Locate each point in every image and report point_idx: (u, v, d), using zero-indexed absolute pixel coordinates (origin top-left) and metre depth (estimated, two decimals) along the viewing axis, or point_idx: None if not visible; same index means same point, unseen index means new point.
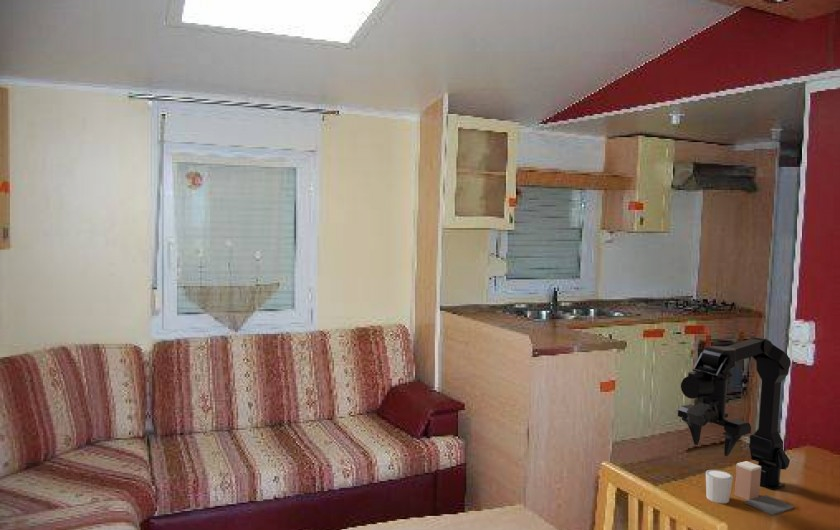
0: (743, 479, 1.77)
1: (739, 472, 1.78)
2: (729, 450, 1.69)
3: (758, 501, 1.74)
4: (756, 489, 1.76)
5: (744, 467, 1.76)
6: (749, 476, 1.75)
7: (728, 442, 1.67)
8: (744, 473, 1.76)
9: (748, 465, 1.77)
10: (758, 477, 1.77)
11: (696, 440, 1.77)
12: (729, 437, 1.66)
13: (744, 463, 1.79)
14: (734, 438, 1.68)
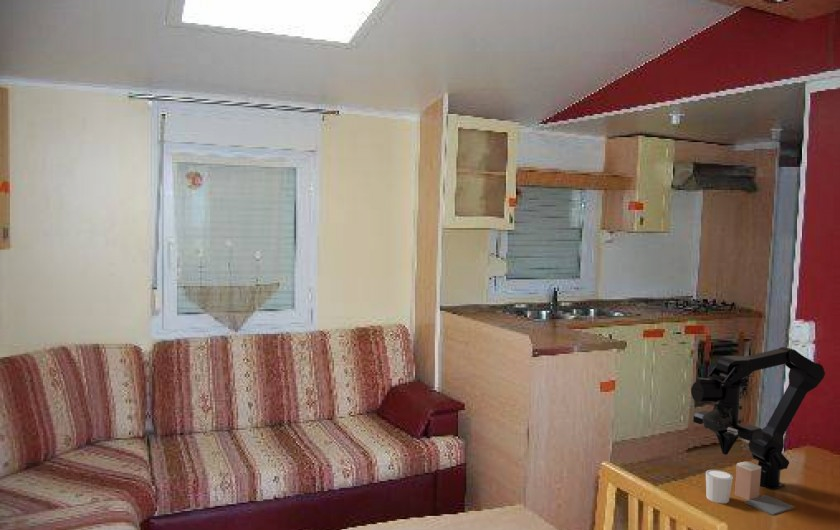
0: (743, 479, 1.77)
1: (739, 472, 1.78)
2: (728, 449, 1.83)
3: (758, 501, 1.74)
4: (756, 489, 1.76)
5: (744, 467, 1.76)
6: (749, 476, 1.75)
7: (727, 441, 1.82)
8: (744, 473, 1.76)
9: (748, 465, 1.77)
10: (758, 477, 1.77)
11: None
12: (728, 437, 1.81)
13: (744, 463, 1.79)
14: (733, 438, 1.83)
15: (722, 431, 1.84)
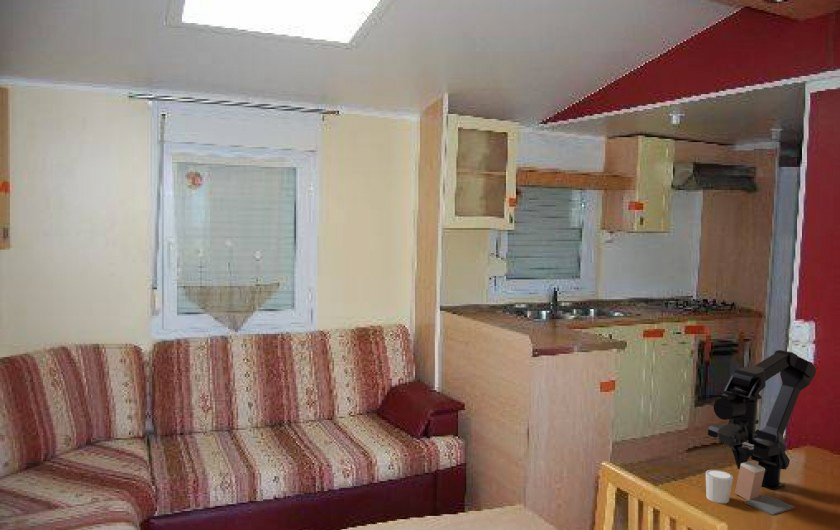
0: (745, 479, 1.76)
1: (742, 472, 1.77)
2: None
3: (758, 501, 1.74)
4: (757, 490, 1.76)
5: (748, 468, 1.75)
6: (752, 477, 1.74)
7: (742, 456, 1.78)
8: (747, 474, 1.76)
9: (752, 466, 1.76)
10: (761, 478, 1.76)
11: (739, 464, 1.80)
12: (743, 451, 1.77)
13: (748, 463, 1.78)
14: (748, 453, 1.79)
15: (738, 445, 1.80)
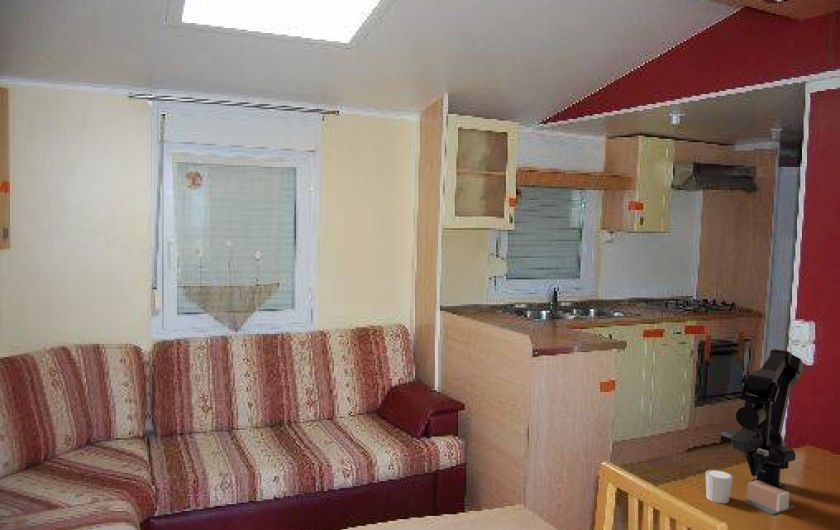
0: (765, 498, 1.71)
1: (771, 495, 1.70)
2: (757, 470, 1.75)
3: None
4: None
5: (777, 503, 1.68)
6: (770, 506, 1.70)
7: (757, 463, 1.74)
8: (771, 501, 1.70)
9: (782, 503, 1.69)
10: None
11: None
12: (757, 458, 1.73)
13: (784, 497, 1.69)
14: (762, 459, 1.75)
15: (751, 452, 1.76)
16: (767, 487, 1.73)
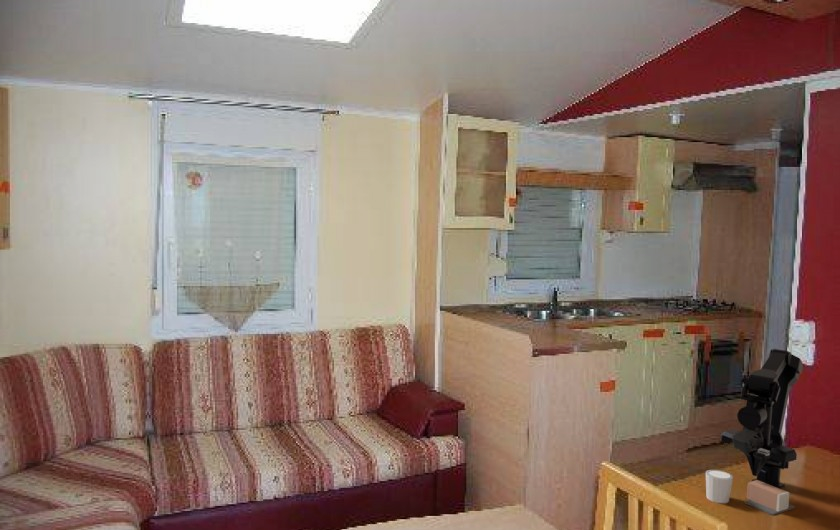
0: (765, 498, 1.71)
1: (771, 495, 1.70)
2: (758, 470, 1.75)
3: None
4: None
5: (777, 503, 1.68)
6: (770, 506, 1.70)
7: (758, 463, 1.74)
8: (771, 501, 1.70)
9: (782, 503, 1.69)
10: None
11: None
12: (758, 458, 1.73)
13: (784, 497, 1.69)
14: (763, 459, 1.75)
15: (752, 451, 1.76)
16: (767, 487, 1.73)
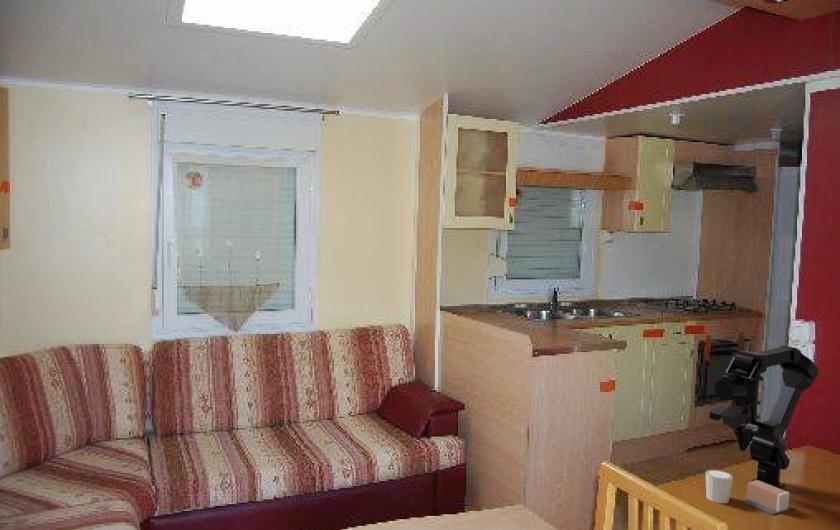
0: (765, 498, 1.71)
1: (771, 495, 1.70)
2: (746, 445, 1.80)
3: None
4: None
5: (777, 503, 1.68)
6: (770, 506, 1.70)
7: (746, 438, 1.78)
8: (771, 501, 1.70)
9: (782, 503, 1.69)
10: None
11: None
12: (746, 433, 1.77)
13: (784, 497, 1.69)
14: (751, 434, 1.79)
15: (740, 427, 1.80)
16: (767, 487, 1.73)
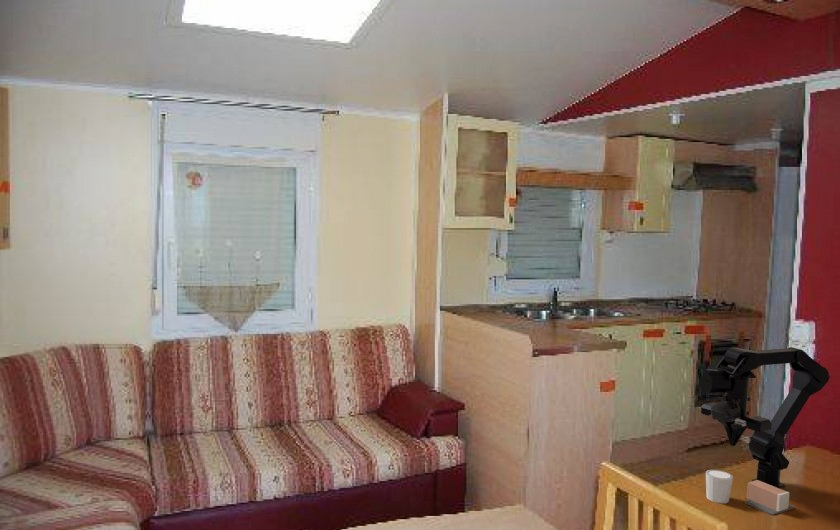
0: (765, 498, 1.71)
1: (771, 495, 1.70)
2: (736, 440, 1.83)
3: None
4: None
5: (777, 503, 1.68)
6: (770, 506, 1.70)
7: (735, 433, 1.82)
8: (771, 501, 1.70)
9: (782, 503, 1.69)
10: None
11: None
12: (736, 428, 1.81)
13: (784, 497, 1.69)
14: (740, 429, 1.83)
15: (730, 422, 1.84)
16: (767, 487, 1.73)
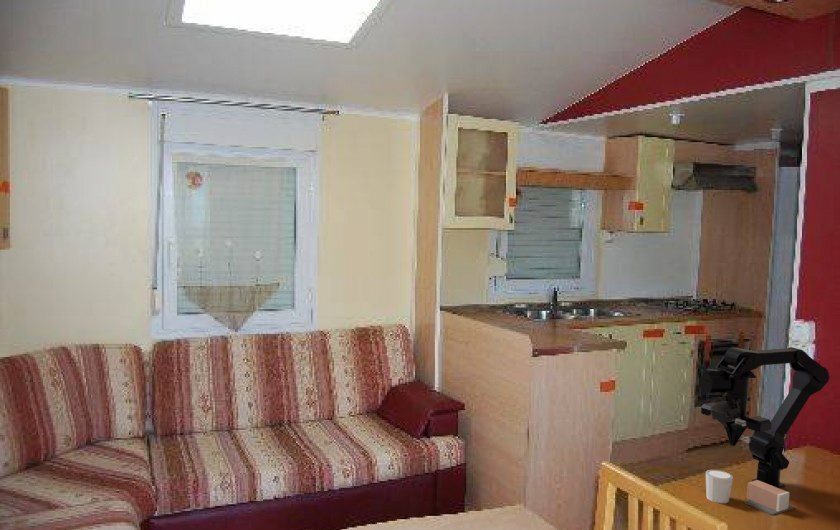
0: (765, 498, 1.71)
1: (771, 495, 1.70)
2: (736, 440, 1.83)
3: None
4: None
5: (777, 503, 1.68)
6: (770, 506, 1.70)
7: (735, 433, 1.82)
8: (771, 501, 1.70)
9: (782, 503, 1.69)
10: None
11: None
12: (736, 428, 1.81)
13: (784, 497, 1.69)
14: (740, 429, 1.83)
15: (730, 422, 1.84)
16: (767, 487, 1.73)
